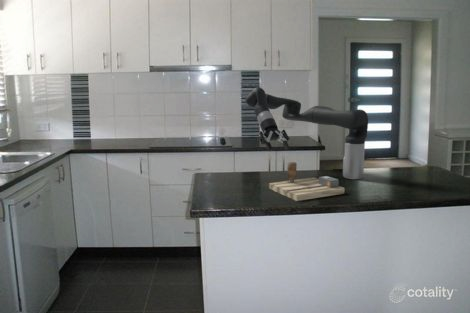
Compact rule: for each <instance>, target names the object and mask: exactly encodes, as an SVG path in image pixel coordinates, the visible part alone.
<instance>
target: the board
mask: <svg viewBox="0 0 470 313" xmlns="http://www.w3.org/2000/svg"><path fill="white" fill-rule="evenodd" d="M289 182H290V180H285V181H284V180H283V181H275V182H270V183H268V189H269V190H272V191H273V192H276V193H278V194H280V195H282V196H285V197H286V198H289V199H291V200H293V201H295V202H299V201H306V200H312V199H317V198H324V197H325V198H326V197H331V196H336V195H337V196H338V195H343V194H344V195H345V187H343V186H340V185H338V187H331V188H330V187H327V186H325V185H321V184H319V178H317V177H315V176H314V177H305V178H299V179H298V178H297V179H294V183H289Z"/></svg>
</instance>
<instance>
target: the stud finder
mask: <svg viewBox="0 0 470 313" xmlns="http://www.w3.org/2000/svg"><path fill="white" fill-rule="evenodd" d="M318 179H319V184H321V185H325V186H327V187H330V188H331V187H338V186H340V185H339V183H340V182H339V181H340V180H339V178H335V177H332V176H328V175H325V176H318Z"/></svg>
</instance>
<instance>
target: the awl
mask: <svg viewBox="0 0 470 313" xmlns="http://www.w3.org/2000/svg"><path fill="white" fill-rule="evenodd" d="M297 165H298V164H297V162H296V161H295V162H294V161H291V162H290V161H289V162H287V166H286V167H287V170H286V173H287V176H286V177H287V178H288V180H289V181H290V182H289V183H294V180H296V178H297Z"/></svg>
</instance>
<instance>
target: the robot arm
mask: <svg viewBox="0 0 470 313" xmlns="http://www.w3.org/2000/svg"><path fill="white" fill-rule="evenodd" d="M245 103H246V104H247V105H248V106H249V107H250V108H254V109H253V110H254V115H255V116H256V118H257V123H258V124H259V126H260V127H259V128H261V130H260V131H259V132H258V134H257V136H258V140H259V142H260V144H261V145H265V146H266V148H267V150H268V151H269V152H272V151H273V146H272V144H271V142H270V141H277V142H280V143H282V145H283V148H284V150H289V147H290V146H289V144H288V142H289V140H290V136H289V134H287V132H286V129H282V130H279V128H278V125H277V122H276V120H275V119H274V118H275V117H274V116H273V114H272V112H271V111H270V110H276V109H278V108H280V107H282V106H283V109H282V117H283V119H285V120H289V121H296V122H298V121H299V122H307V123H312V124H318V125H326V126H337V127H340V128H344V129H347V130H350V132H349V133H348V135H346V136H345V139H344V157H343V159H342V176H343V178H345V179H349V180H361V179H364V173H365V172H364V168H365V167H364V166H365V145H366V139H367V136H368V128H369V117H368V114H367V112H366V111H365V110H364V109H351V110H336V109H333V108H331V107H328V106H325V105H324V106H322V105H314V106H312V107H310V108H308V109H307V110H306V111H303V112H302V113H301V109H302V103H301V102H299V101H298V100H295V99H291V98H287V97H278V96H275V95H272V94H269V93H266V91H265V90H264V88H262V87H260V86H257V87H254V88H253V89H252V91H251V92H249V93H248V95H247V96H245ZM265 138H266V139H265Z"/></svg>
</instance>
